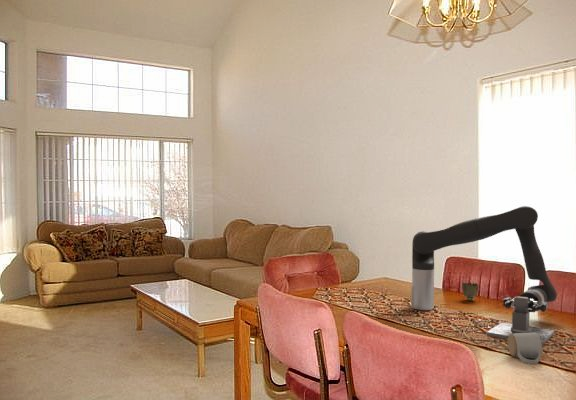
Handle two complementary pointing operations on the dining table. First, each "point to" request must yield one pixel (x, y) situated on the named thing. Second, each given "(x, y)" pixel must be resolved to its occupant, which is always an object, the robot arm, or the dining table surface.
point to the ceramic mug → (525, 346)
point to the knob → (520, 314)
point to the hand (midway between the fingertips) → (519, 307)
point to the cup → (470, 290)
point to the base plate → (506, 329)
